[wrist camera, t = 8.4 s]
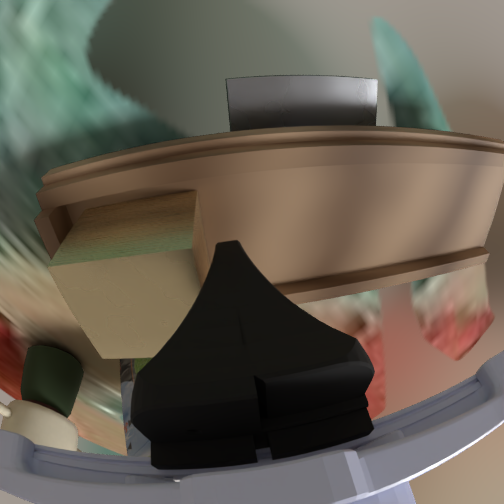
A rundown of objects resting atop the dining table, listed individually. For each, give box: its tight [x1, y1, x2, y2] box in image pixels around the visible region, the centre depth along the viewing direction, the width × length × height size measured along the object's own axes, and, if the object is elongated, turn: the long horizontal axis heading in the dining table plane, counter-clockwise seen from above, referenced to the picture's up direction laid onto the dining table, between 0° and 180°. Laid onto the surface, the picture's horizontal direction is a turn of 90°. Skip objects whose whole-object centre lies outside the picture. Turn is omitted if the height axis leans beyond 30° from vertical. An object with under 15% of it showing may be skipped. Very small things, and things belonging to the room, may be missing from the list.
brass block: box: [47, 190, 210, 359], centre depth 11 cm, size 5×5×4 cm
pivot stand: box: [226, 75, 377, 132], centre depth 16 cm, size 8×13×3 cm, turn 4°
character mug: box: [0, 345, 84, 452], centre depth 18 cm, size 11×7×13 cm, turn 19°
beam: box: [34, 125, 504, 304], centre depth 14 cm, size 25×9×4 cm, turn 94°
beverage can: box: [120, 357, 180, 482], centre depth 19 cm, size 6×7×12 cm
